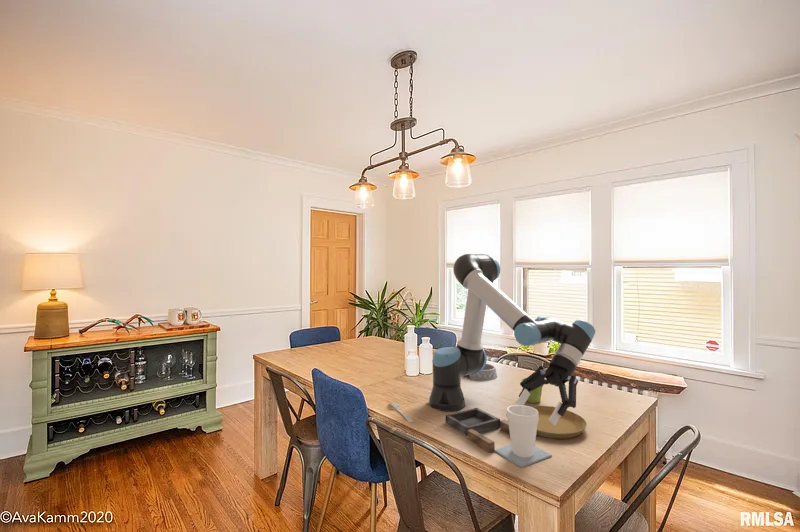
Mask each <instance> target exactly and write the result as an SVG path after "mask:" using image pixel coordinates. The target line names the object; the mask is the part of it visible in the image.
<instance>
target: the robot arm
mask: <svg viewBox="0 0 800 532" xmlns="http://www.w3.org/2000/svg"><path fill="white" fill-rule="evenodd" d="M452 271H453V275H454V276H455V278H456V280H457V282H458V283H459V284H460V285H461V286H462V287H463V288H464V289H466V290H467V297H466V302H465V303H466V304H465V309H464V316H463V317H464V319H463V325H462V332H461V339H459V340H458V341H457V344H456V347H454V346H447V347H445V346H444V347H441V348H438V349H436V350H435V351H434V352H433V354H432V389H431V392H430V395H429V398H428V399H429V400H428V405H429V406H430V408H433V409H435V410H438V411H442V412H443V411H444V412H454V411H455V412H456V411H460V410H462V409H464V408H465V406H466V399H465V396H464V393H463V390H462V387H461V378H462V377H465V376H469V374H475V373H477V372H479V371H481V370H482V369H483V368H484V367H485V365H486V364H487V362H488V360H487V354H486V351H485V349H484V345H483V343H482V336H483V335H482V334H483V328H484V323H485V321H484V320H485V316H486V309H487V308H486V307H488V308H489V309H490V310H491V311H492V312H493V313H494V314H496V315H497V316H498V317H499V318H500V320H502V321H503V322H504V324H506V325H507V326H508V327H510V329H511V330H512V331H513V332H514V333H513V334H514V335H513V336H514V338H515V340H516V342H518V344H519V345H521V346H524V347H525V346H526V347H527V346H528V347H529V346H535V345H538V344H541V343H546V342H551V341H552V342H556V343H558V344H560V345H559V346H558V348H557V350H556V351H555V353H554V355H553V357H552V359H551V360H550V361H549V366H548V367H547V368H544V366H542V365H540V366H539V367H538V368H537V369H536V370H535V371H534V372H532V373H531V374H530V375H529V376H527V377H525V378H526V379H525V380H523V381H521V382H520V383H519V385H520V386H521V387H522V389H521V391H520V393H519V395H518V399H517V400H516V401H515V403H514V405H525V404H526V402H528V401H527V399H528V397H529V396H530V391H532V390H534V389H536V388H538V387H540V386H542V385H543V386H544V385H551V386H552V385H553V386H555V387H558V390H559V394H560V399H561V400H560V401H558V403H557V404H556V406H555V407H556V408H555V410H554V411H553V413H552V415H551V417H550V418H549V421H550V422H551V423H552V424H553V425H556V424H557V422H558V420H559V418H560V416H563V415H564V413H565V412H566V410H568V408H573V409H575V408H577V386H578V383H579V380H578V379H577V377H576V376H575V375H574V374H575V371H576V370H577V366H578V365H579V363H580V361H581V360H582V358H583V356H584V354H585V353H586V352H587V350H588V348H589V346H590V344H591V343H592V342H593V339H594V337H595V335H596V329H595V327H594V325H593V324H591V323H589V322H588V321H586V320H583V319H576V320H574V322H572V324H571V323H566V322H564V321H560V320H558V319H554V318H552V317H550V316H549V317H548V316H544V315H540V316H537V318H534V319H533V318H532V317H531V316H530V315H529V314H527V313H526V312H525V311H524V310H523V309H522V308H520V307H519V306H518V305H517V304H516V303H515V302H514V301H513V300H512V299H511V298H510V297H508V295H506V294H505V293H504V292H503V291H502V290H501V289H500V288H498V287H497V286H496V285H495V284H494V281H496V280H497V279H498V278H499V277H500V274H501V265H500V263H499V261H498V260H497V258H496V257H495V256H493V255H489V254H485V253H480V254H479V253H464V254H461V255H460V256H459V257H458V258H457V259H456V260H455V261H454V264H453V270H452ZM566 383H568V392H567V388H566V387H567V386H566ZM528 387H529V388H528ZM567 393H568V394H567Z"/></svg>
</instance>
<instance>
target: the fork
mask: <svg viewBox="0 0 800 532" xmlns="http://www.w3.org/2000/svg"><path fill="white" fill-rule="evenodd" d="M390 405H391V406H392V407H393V408H394V409H396V410H397V412H398V413H399V414H401V415H402V417H403V418H404V419H405V421H407V422H408V423H409V422H410V423H411V422H414V420H413V417H410V416H409V415H407V414H405V412H402V411H401V410H400V408H399V407H400V405H399V403H397V402H392V403H390Z"/></svg>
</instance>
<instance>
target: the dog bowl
mask: <svg viewBox="0 0 800 532" xmlns="http://www.w3.org/2000/svg"><path fill="white" fill-rule="evenodd" d="M468 376H469V379H470V380H472V381H478V382H479V381H482V382H484V381H485V382H486V381H488V382H489V381H493V380H496V379H497V378H498V373H497V370H496V366H495V365H493V364H490V363H486V365H485V367H484V368H483V369H482V370H481V371H479V372H477V373H475V374H469V375H468Z"/></svg>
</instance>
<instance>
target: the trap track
mask: <svg viewBox="0 0 800 532" xmlns="http://www.w3.org/2000/svg"><path fill="white" fill-rule="evenodd" d="M445 424H446V425H448V426H449V427H450V428H453V429H454V430H455V431H457V432H459V433H461V434H462V435H464V436H465V437H467V440H469V441H470V442H471V443H473V444H475V446H478V447H479V448H481V449H483V450H485V452H487V453H489V454H491V453H494V452H495V450H496V449H495V444H496V443H495V441H494V440H492V439H491V438H489V437H487V436H485V435H483V434H484V433H487V432H490V431H493V430H496V429H499V430H502V431H503V432H504V433H507V435H510V431H509V424H508V420H506V419H503V420H501V419H500V418H498V417H496V416H495V415H493V414H490V413H488V412H486V411H484V410H483V409H481V408H479V407H474V408H469V409H466V410H461V411H460V410H459V411H457V412H456V411H455V412H452V413H448V414H445Z"/></svg>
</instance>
